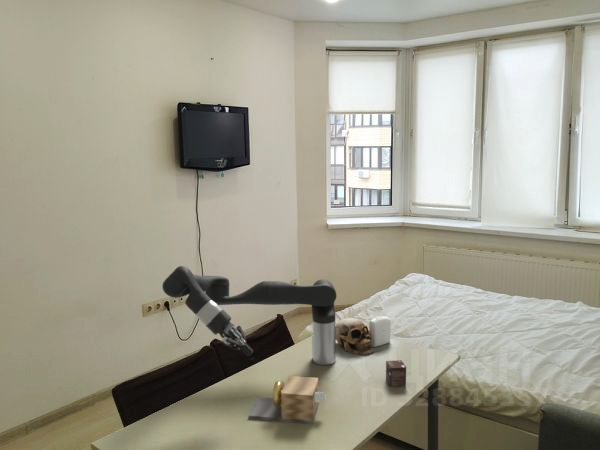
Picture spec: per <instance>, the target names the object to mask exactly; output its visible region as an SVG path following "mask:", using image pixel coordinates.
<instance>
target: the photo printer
mask: <svg viewBox="0 0 600 450" xmlns="http://www.w3.org/2000/svg"><path fill="white" fill-rule="evenodd" d="M368 326H369V327H368V330H369V333H370V335H371V336H372V338H371V339H369V341H370V343H371V347H373V348H375V347H379V346H382V345H386V344H389V343H391V319H390V317H388V316H385V315H382V316H377V317H375V318H373V319H371V320H370V321H369V323H368Z"/></svg>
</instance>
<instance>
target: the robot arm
mask: <svg viewBox="0 0 600 450" xmlns="http://www.w3.org/2000/svg"><path fill="white" fill-rule="evenodd" d="M162 290H163V292H164V294H165V295H167V296H169V297H170V298H175V299H178V298H183V297H185V296H187V298H186V299H185V302H184V303H185V305H186V307H188V309H189V310H191V312H192V313H194V314H195V316H196V317H197V318H198V319H199V321H200V322H201V323H203V324H204V325H205V327H206V328H207V329H208V330H210V331H211V333H213V335H216V336H217V335H218V334H219V336H220V338H222V339H223V342H222V345H223V346H225V347H227V348H229V349H232V350H234V351H237V350H240V351H242V353H244V355H246V356H247V357H248V358H249V357H250V356H252V354H253V353H254V349H252V347H251V346H250V345H249V344H248V343H247V337H246V334H245V333H244V331H243V329H242V326H241V325H237V326H235V324H234V323H232V322H231V321H232V317H231V316H230V315H229V314H228V313H227V312H226V311H225V310H224V309H223V308H222V307H221V306H229V305H231V306H232V305H267V306H268V305H269V306H271V305H272V306H273V305H274V306H276V305H277V306H278V305H306V306H307V305H308V306H309V305H310V306H311V313H312V314H311V316H312V317H311V318H312V337H311V342H312V343H311V344H312V347H311V348H312V356H311V357H312V360H313V362H314V363H315V364H317V365H320V366H321V365H322V366H328V365H332V364H334V363H336V359H337V358H336V357H337V353H336V352H337V350H336V349H337V348H336V347H337V346H336V344H337V343H336V342H337V340H336V329H335V326H336V310H335V301H336V300H337V291H336V289H335V287H334V285H333V284H332V282H331V281H329V280H327V279H323V278H321V279H318V280H317V281H315V282H314V283H313V285H298V284H294V283H289V282H285V281H279V280H278V281H277V280H275V281H274V280H272V281H271V280H269V281H268V280H264V281H260V282H258V283H256V284H254V285H253V286H252V287H250V288H249V289H247V290H245V291H243V292H241V293H239V294H236V295H233V296H230V280H229V279H228V278H227V277H226V276H223V275H197V274H194V273H193V272H192V271H191V269H189V267H187V266H183V265H179V266H177V267H176V268H175V269H173V271H172V272H171V273H170V274H169V275H168V276H167V277H166V278H165V279H164V281H163V283H162Z"/></svg>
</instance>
